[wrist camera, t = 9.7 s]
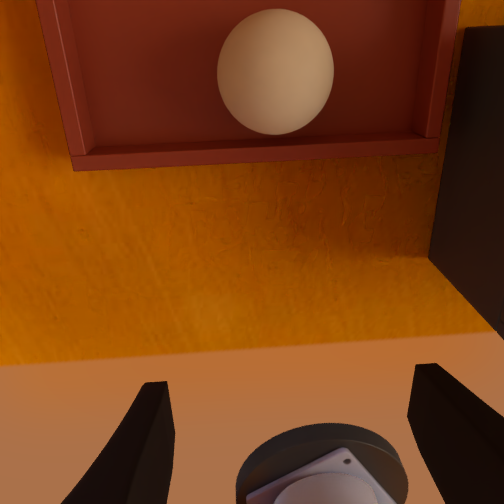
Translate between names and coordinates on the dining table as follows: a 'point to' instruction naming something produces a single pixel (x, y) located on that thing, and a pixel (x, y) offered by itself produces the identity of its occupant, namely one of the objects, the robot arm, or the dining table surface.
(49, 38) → the tray
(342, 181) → the dining table surface
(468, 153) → the box
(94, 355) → the dining table surface
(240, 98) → the ball
